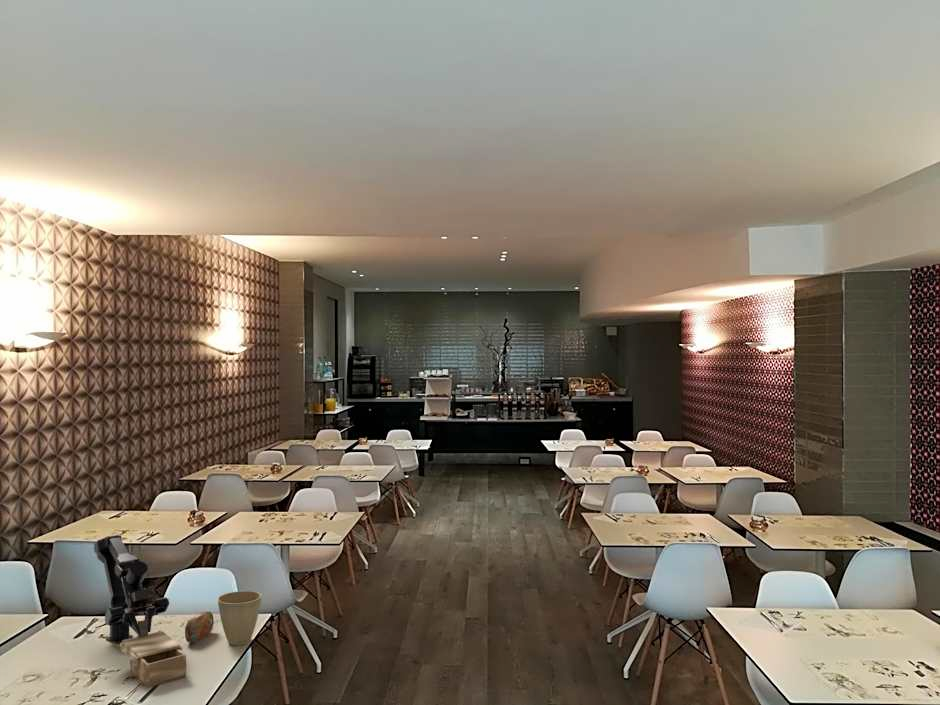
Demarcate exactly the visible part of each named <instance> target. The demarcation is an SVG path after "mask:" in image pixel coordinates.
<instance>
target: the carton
mask: <svg viewBox="0 0 940 705" xmlns="http://www.w3.org/2000/svg"><path fill="white" fill-rule="evenodd" d="M129 666H130V667H129V669H130V670H129V672H130V673H131V674H132V675H133V676H134V677H135V679H137V681H139V682H140V683H141V684H142V686H144V687H145V688H146V689H149V688H152V687H156V686H159V685H162V684H166V683H167V684H168V683H170V682H173V681H177V680H180V679H183V678H187V654H186V653H184V652H183V650H182V651H181V650H180V649H178V648H176V649H172V650H168V651H164V652H161V653H157V654H153V655H149V656H145V657H141V658H138V665H136V664H135V663H134V662H133V661H132V660H131V659H130V660H129Z"/></svg>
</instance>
